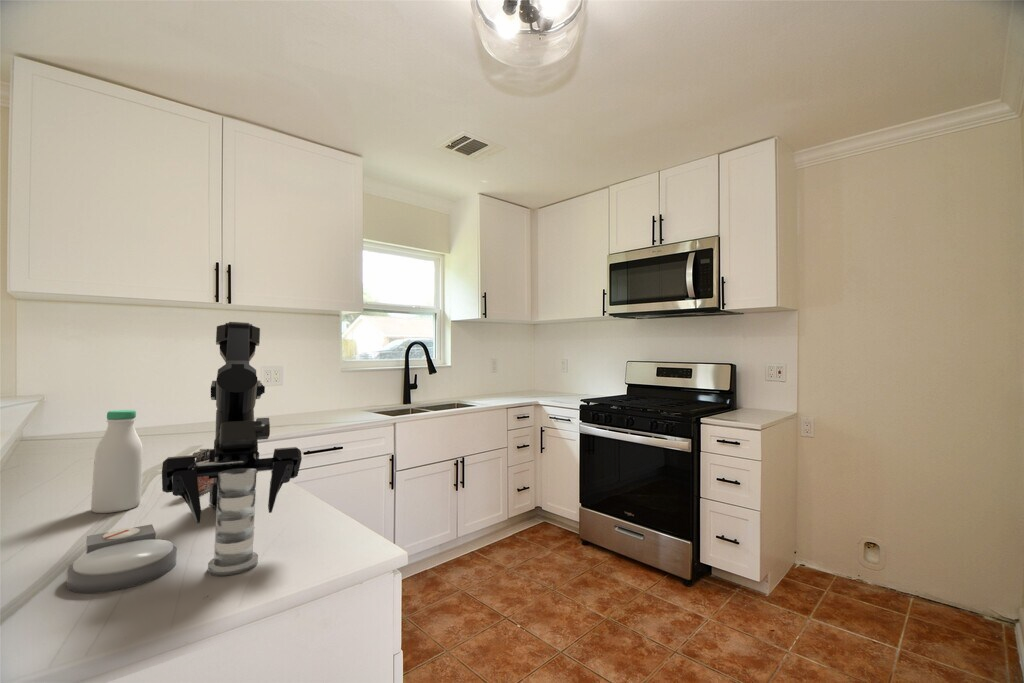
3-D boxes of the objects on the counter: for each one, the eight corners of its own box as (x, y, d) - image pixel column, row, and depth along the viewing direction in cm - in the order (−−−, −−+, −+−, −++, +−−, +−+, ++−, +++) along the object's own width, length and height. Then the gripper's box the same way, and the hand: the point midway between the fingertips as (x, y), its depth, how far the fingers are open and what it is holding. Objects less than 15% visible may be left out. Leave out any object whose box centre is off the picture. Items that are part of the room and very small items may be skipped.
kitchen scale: (165, 540, 78) (166, 519, 78) (182, 573, 66) (183, 548, 66) (67, 560, 69) (69, 537, 70) (66, 603, 58) (67, 574, 58)
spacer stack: (251, 553, 73) (255, 465, 74) (263, 567, 68) (267, 472, 69) (203, 565, 69) (208, 471, 69) (213, 580, 64) (218, 479, 65)
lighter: (203, 488, 110) (205, 446, 110) (218, 487, 110) (220, 446, 111) (182, 497, 102) (184, 452, 102) (198, 497, 102) (200, 452, 103)
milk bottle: (148, 505, 96) (153, 410, 97) (103, 516, 89) (109, 413, 90) (128, 500, 99) (133, 407, 100) (82, 510, 92) (89, 411, 93)
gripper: (166, 403, 68) (155, 496, 58) (301, 399, 79) (312, 478, 69) (167, 448, 74) (157, 539, 65) (292, 439, 85) (300, 516, 75)
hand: (236, 516), depth 68 cm, fingers open, 9 cm apart
